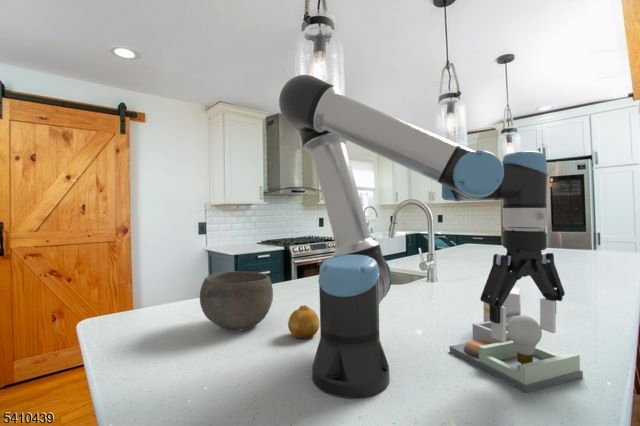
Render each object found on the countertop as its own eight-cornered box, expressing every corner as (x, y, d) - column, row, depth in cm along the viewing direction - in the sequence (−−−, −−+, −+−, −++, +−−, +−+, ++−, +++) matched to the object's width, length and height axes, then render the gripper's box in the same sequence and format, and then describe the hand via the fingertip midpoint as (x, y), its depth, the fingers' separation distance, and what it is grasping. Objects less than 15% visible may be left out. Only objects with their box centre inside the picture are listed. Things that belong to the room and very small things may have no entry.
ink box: (521, 341, 81) (520, 293, 81) (483, 334, 85) (482, 290, 85) (521, 330, 88) (520, 287, 88) (486, 325, 93) (485, 284, 93)
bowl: (287, 324, 96) (286, 274, 96) (224, 345, 81) (224, 285, 81) (247, 311, 110) (246, 267, 111) (187, 327, 95) (186, 276, 95)
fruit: (308, 318, 94) (299, 298, 91) (329, 327, 88) (319, 306, 85) (289, 339, 89) (278, 318, 86) (309, 350, 83) (298, 328, 80)
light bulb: (515, 371, 63) (513, 319, 63) (503, 358, 68) (502, 311, 69) (549, 373, 62) (547, 320, 62) (534, 360, 67) (533, 311, 68)
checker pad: (480, 356, 69) (480, 350, 69) (462, 347, 74) (462, 341, 74) (499, 352, 70) (498, 346, 70) (479, 343, 75) (479, 338, 75)
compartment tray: (526, 392, 57) (525, 361, 57) (449, 351, 75) (449, 327, 75) (582, 377, 62) (582, 348, 62) (498, 341, 80) (498, 319, 80)
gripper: (492, 231, 58) (492, 350, 58) (585, 229, 66) (585, 333, 66) (461, 229, 65) (460, 335, 65) (549, 228, 73) (548, 322, 73)
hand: (523, 335), depth 65 cm, fingers open, 13 cm apart
